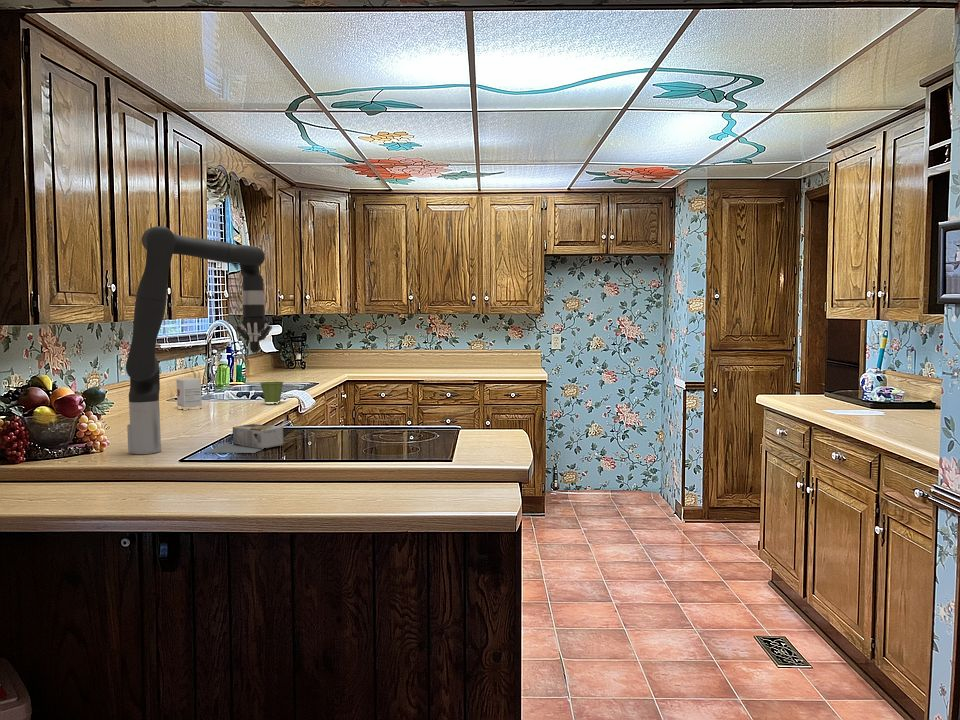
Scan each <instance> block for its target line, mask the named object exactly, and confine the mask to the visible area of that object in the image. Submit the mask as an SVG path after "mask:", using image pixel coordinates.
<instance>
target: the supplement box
mask: <svg viewBox="0 0 960 720" xmlns="http://www.w3.org/2000/svg"><path fill="white" fill-rule="evenodd" d="M175 381H176V402H177V403H176V404H177V405H178V406H181V407H196V406H202V407H203V399H202V397H203V396H202V379H201V378H196V377H188V378H176V380H175ZM178 406H177V407H178Z"/></svg>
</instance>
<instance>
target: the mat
mask: <svg viewBox="0 0 960 720" xmlns="http://www.w3.org/2000/svg"><path fill="white" fill-rule="evenodd" d="M261 450H262V449H260V448H254V447H247V446H241V445H234V444H233V443H224V444H222V445H219V446H217V447H215V448H212V449H210V450H207V451H205V452H204V453H256V452H258V451H260V452H261ZM262 451H263V450H262ZM258 453H259V452H258ZM256 454H257V453H256Z"/></svg>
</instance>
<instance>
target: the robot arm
mask: <svg viewBox="0 0 960 720" xmlns="http://www.w3.org/2000/svg"><path fill="white" fill-rule="evenodd" d="M141 244H142V246H143V248H144V249H145V250H146V257H145V259H146V260H145V267H144V269H143V273H142V277H141V278H140V281H139V284H138V288H137V291H136V297H135V303H134V312H133V323H132V336H131V337H132V338H131V343H130V347H129V351H128V356H127V359H126V362H125V371H126V374H127V376H128V377H129V391H128V392H129V393H128V411H129V424H127V426H126V431H127V449H128V454H132V455H148V454H149V455H150V454H157V453H160V452H161V451H162V439H161V438H162V437H161V411H160V392H161V391H160V390H161V389H160V387H161V385H160V383H161V381H160V379H161V376H160V375H161V373H160V363H159V360H158V359H157V357H156V346H157V345H156V343H157V339H158V335H159V333H160V329H161V327H162V325H163V320H164V317H165V313H166V305H167V298H168V297H167V296H168V287H169V286H168V285H169V273H170V267H171V262H172V259H173V255H181V256H189V257H192V258H193V257H195V258H200V259H204V260H207V261H214V262H220V263H226V264H239V269H240V274H241V278H242V297H241V298H242V300H241V301H242V320H241V324H240V325H238V326H236V330H237V332H238V333H239V334H240V335H241V336H242V338H243V339H244V340H245V341H248V342H249V346H250V348H249V349H250V351H251V353H259V351H260V341H263V340H265V339H266V337H267V336H268V335H269V334H270V332H271V331H272V330H273V326H272V325H270V324H268V323H267V319H266V311H265V305H266V301H265V293H264V278H263V276H262V275H261V274H260V273H261V272H260V266H261V265H263V264H264V262H265V259H266V255H265V252H264V251H263V250H262V249H261V248H260V247H258V246H253V245H246V244H245V245H244V244H235V243H230V242H225V241H220V240H216V239H207V238H197V237H196V238H195V237H189V236H184V235H180V234H176V233H174V232H173V231H172V230H171V229H170V228H168V227H167V226H163V225H157V226H153V227H149V228H147V229H146V230H145V231H144V232H143V233H142V237H141ZM245 329H246V330H245Z"/></svg>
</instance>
